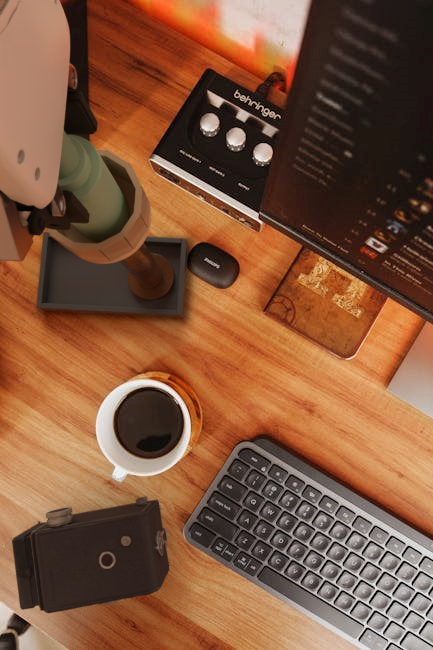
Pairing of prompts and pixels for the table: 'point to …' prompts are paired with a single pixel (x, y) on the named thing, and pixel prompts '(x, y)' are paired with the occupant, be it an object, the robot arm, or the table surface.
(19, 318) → the table surface
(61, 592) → the camera
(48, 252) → the tray
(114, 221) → the bottle
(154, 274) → the goblet
